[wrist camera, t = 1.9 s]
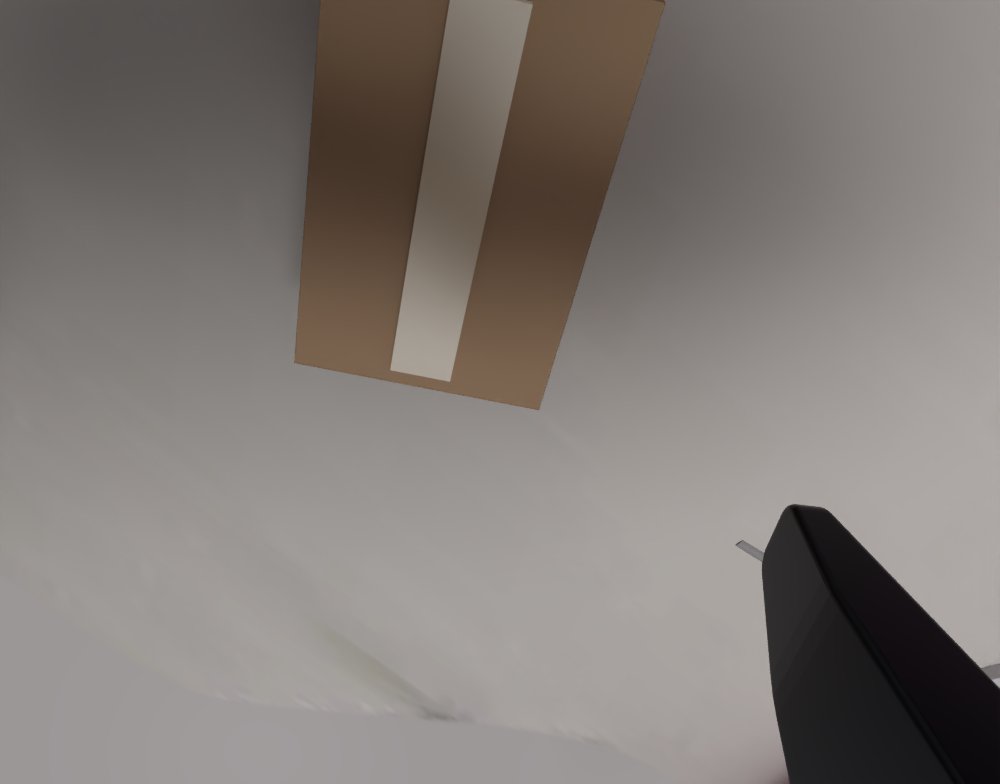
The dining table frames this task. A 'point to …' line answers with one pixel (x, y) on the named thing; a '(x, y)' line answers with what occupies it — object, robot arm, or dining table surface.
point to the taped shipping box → (460, 183)
